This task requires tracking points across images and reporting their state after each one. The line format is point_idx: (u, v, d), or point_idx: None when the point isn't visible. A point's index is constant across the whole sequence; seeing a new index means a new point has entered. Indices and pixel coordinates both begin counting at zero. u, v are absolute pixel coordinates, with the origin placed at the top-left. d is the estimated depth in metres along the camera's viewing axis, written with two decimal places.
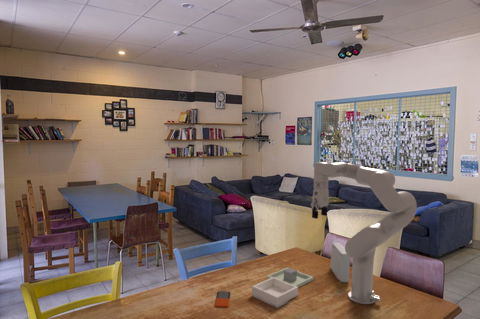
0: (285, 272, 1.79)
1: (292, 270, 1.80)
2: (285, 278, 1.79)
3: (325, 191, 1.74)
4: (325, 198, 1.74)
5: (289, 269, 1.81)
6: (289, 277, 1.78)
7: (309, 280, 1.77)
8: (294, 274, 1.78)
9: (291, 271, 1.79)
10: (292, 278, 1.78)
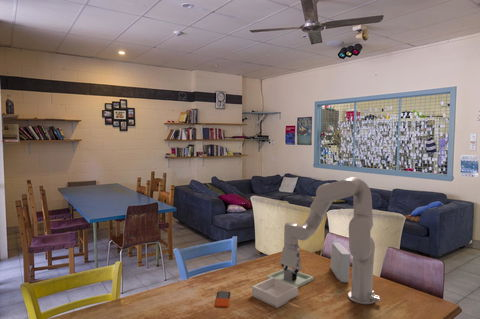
0: (285, 272, 1.79)
1: (292, 270, 1.80)
2: (285, 278, 1.79)
3: None
4: None
5: (289, 269, 1.81)
6: (289, 277, 1.78)
7: (309, 280, 1.77)
8: None
9: (291, 271, 1.79)
10: None
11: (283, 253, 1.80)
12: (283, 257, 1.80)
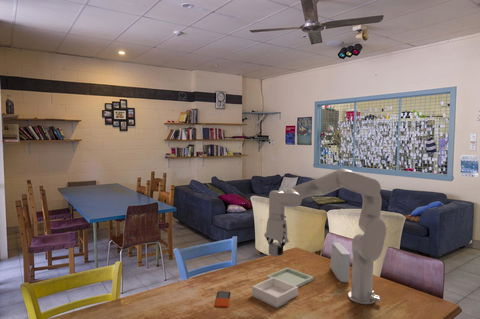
0: (270, 246, 1.60)
1: (278, 244, 1.60)
2: (270, 253, 1.60)
3: None
4: None
5: (275, 243, 1.62)
6: (274, 251, 1.58)
7: (309, 280, 1.77)
8: None
9: (277, 245, 1.59)
10: None
11: (268, 225, 1.61)
12: (268, 229, 1.61)
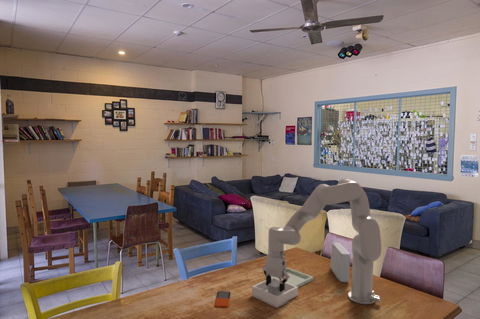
0: (269, 286, 1.61)
1: (278, 284, 1.62)
2: None
3: None
4: None
5: (274, 283, 1.63)
6: (273, 292, 1.60)
7: (309, 280, 1.77)
8: None
9: (276, 285, 1.61)
10: (277, 293, 1.59)
11: (267, 261, 1.62)
12: (267, 265, 1.62)
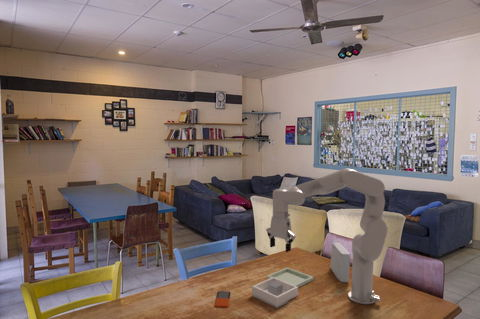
0: (269, 286, 1.61)
1: (278, 284, 1.62)
2: None
3: None
4: None
5: (274, 283, 1.63)
6: (273, 292, 1.60)
7: (309, 280, 1.77)
8: (279, 288, 1.60)
9: (276, 285, 1.61)
10: (277, 293, 1.59)
11: (272, 223, 1.62)
12: (272, 228, 1.62)
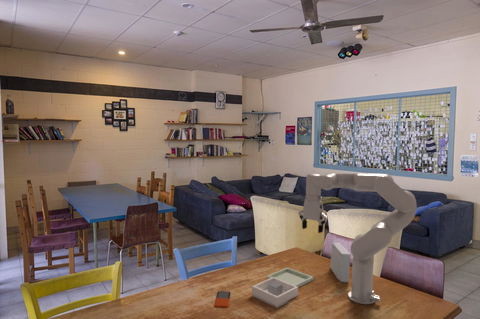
0: (269, 286, 1.61)
1: (278, 284, 1.62)
2: None
3: None
4: None
5: (274, 283, 1.63)
6: (273, 292, 1.60)
7: (309, 280, 1.77)
8: (279, 288, 1.60)
9: (276, 285, 1.61)
10: (277, 293, 1.59)
11: (305, 206, 1.71)
12: (305, 210, 1.71)
